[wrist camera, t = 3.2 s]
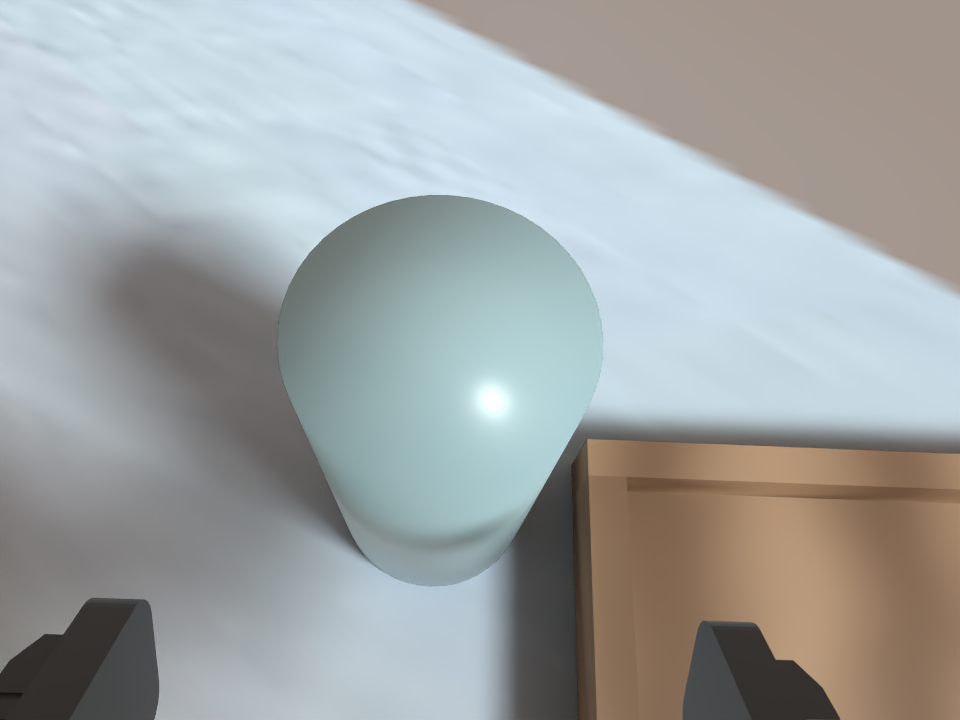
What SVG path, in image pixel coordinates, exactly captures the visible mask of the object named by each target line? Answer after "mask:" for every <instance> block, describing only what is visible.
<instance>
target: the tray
mask: <svg viewBox="0 0 960 720" xmlns="http://www.w3.org/2000/svg"><path fill="white" fill-rule="evenodd" d="M572 503H573V542H574V581H575V620H576V658H577V697H578V720H683V716H682V711H683V699H684V694H685V689H686V684H687V679H688V674H689V669H690V664H691V659H692V654H693V649H694V644H695V639H696V634H697V630H698V627H699V625H700V623H701V622H702V621H732V622H753V623H755V624H756V625H757V626H758V627H759V629H760V630H761V632H762V634H763V636H764V638H765V640H766V642H767V644H768V646H769V648H770V650H771V651H772V653H773V655H774V657H775V659H776V660H794V661H795V662H796V663H797V664H798V665H799V666H800V667H801V668H802V669H803V670H804V671H805V672H806V673H807V674H809V675H810V676H811V677H812V678H813V679H814V680H815V681H816V682H817V683H818V684H819V685H820V686H821V687H823V689H824V691H825V693H826V694H827V696H828V698H829V700H830V701H831V703H832V705H833V707H834V708H835V710H836V712H837V714H838V715H839V717H840V720H960V454H950V453H925V452H901V451H876V450H851V449H826V448H802V447H777V446H752V445H727V444H703V443H678V442H653V441H628V440H604V439H587V440H586V442H585V444H584V445H583V447H582V448H581V450H580V452H579V453H578V455H577V457H576V458H575V460H574V462H573V463H572Z"/></svg>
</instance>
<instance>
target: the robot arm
mask: <svg viewBox="0 0 960 720" xmlns="http://www.w3.org/2000/svg"><path fill="white" fill-rule="evenodd" d="M158 698H159V677H158V668H157V659H156V650H155V641H154V632H153V622H152V613H151V608H150V605H149V603H148V602H147V600H141V599H112V598H91V599H89V600H88V601H87V602H86V603H85V604H84V605H83V607H82V608H81V610H80V611H79V613H78V614H77V615H76V617H75V618H74V620H73V621H72V623H71V624H70V626H69V627H68V629H67V630H66V632H65V633H64V635H54V634H45V635H43V636H42V637H41V638H39V639H38V640H37V641H35V642H34V643H33V644H31V645H30V646H29V647H27V648H26V649H25V650H23V651H22V652H21V653H19V654H18V655H17V656H15V657H14V658H13V659H11V660H10V661H9V662H8V664H7V665H6V666H5V668H4V669H3V671H2V672H1V673H0V720H154V718H155V715H156V710H157V705H158ZM682 716H683V720H840V717H839V715H838V714H837V712H836V710H835V708H834V707H833V705H832V703H831V701H830V700H829V698H828V696H827V694H826V693H825V691H824V689H823V687H821V686H820V685H819V684H818V683H817V682H816V681H815V680H814V679H813V678H812V677H811V676H810V675H809V674H807V673H806V672H805V671H804V670H803V669H802V668H801V667H800V666H799V665H798V664H797V663H796V662H795V661H794V660H776V659H775V657H774V655H773V653H772V651H771V650H770V648H769V646H768V644H767V642H766V640H765V638H764V636H763V634H762V632H761V630H760V629H759V627H758V626H757V625H756V624H755V623H753V622H732V621H702V622H701V623H700V625H699V627H698V630H697V634H696V639H695V644H694V649H693V654H692V659H691V664H690V669H689V674H688V679H687V684H686V689H685V694H684V699H683V711H682Z"/></svg>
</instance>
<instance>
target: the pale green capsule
mask: <svg viewBox="0 0 960 720" xmlns="http://www.w3.org/2000/svg"><path fill="white" fill-rule="evenodd" d="M277 349H278V362H279V367H280V371H281V375H282V380H283V383H284V386H285V388H286V391H287V393H288V396H289V398H290V401H291V403H292V405H293V408H294V410H295V412H296V414H297V416H298V419H299V421H300V423H301V425H302V427H303V430H304V432H305V434H306V436H307V438H308V440H309V443H310V445H311V447H312V449H313V451H314V454H315V456H316V458H317V460H318V462H319V465H320V467H321V469H322V471H323V473H324V476H325V478H326V480H327V482H328V484H329V487H330V489H331V491H332V493H333V495H334V497H335V500H336V502H337V504H338V506H339V508H340V511H341V513H342V515H343V517H344V519H345V522H346V524H347V526H348V528H349V530H350V533H351V535H352V537H353V538H354V540H355V542H356V544H357V546H358V547H359V548H360V550H361V551H362V552H363V554H364V555H365V556H366V557H367V558H368V559H369V560H370V561H371V562H372V563H373V564H374V565H375V566H377V567H378V568H379V569H381V570H382V571H383V572H385V573H387V574H388V575H390V576H392V577H394V578H396V579H399V580H401V581H404V582H407V583H411V584H415V585H421V586H445V585H451V584H456V583H459V582H462V581H466V580H468V579H470V578H472V577H474V576H477V575H478V574H480V573H482V572H483V571H485V570H486V569H488V568H489V567H490V566H491V565H493V564H494V563H495V562H496V561H497V560H498V559H499V558H500V557H501V556H502V555H503V554H504V552H505V551H506V550H507V548H508V547H509V545H510V544H511V542H512V541H513V539H514V537H515V536H516V534H517V532H518V530H519V528H520V527H521V525H522V523H523V521H524V520H525V518H526V516H527V514H528V513H529V511H530V509H531V507H532V506H533V504H534V502H535V500H536V499H537V497H538V495H539V493H540V491H541V490H542V488H543V486H544V484H545V483H546V481H547V479H548V477H549V476H550V474H551V472H552V470H553V469H554V467H555V465H556V463H557V461H558V460H559V458H560V456H561V454H562V453H563V451H564V449H565V447H566V446H567V444H568V442H569V440H570V439H571V437H572V435H573V433H574V432H575V430H576V428H577V426H578V424H579V423H580V421H581V419H582V417H583V416H584V414H585V412H586V410H587V408H588V406H589V404H590V402H591V400H592V398H593V395H594V392H595V389H596V386H597V383H598V380H599V377H600V371H601V366H602V360H603V332H602V323H601V318H600V314H599V310H598V306H597V302H596V300H595V297H594V295H593V292H592V290H591V287H590V285H589V283H588V281H587V279H586V278H585V276H584V274H583V272H582V271H581V269H580V267H579V266H578V265H577V263H576V262H575V261H574V259H573V258H572V257H571V255H570V254H569V253H568V252H567V251H566V250H565V249H564V248H563V247H562V246H561V245H560V244H559V243H558V241H557V240H556V239H554V238H553V237H552V236H551V235H549V234H548V233H547V232H546V231H545V230H543V229H542V228H541V227H539V226H538V225H536V224H535V223H533V222H531V221H530V220H528V219H527V218H525V217H523V216H521V215H519V214H517V213H515V212H513V211H511V210H509V209H507V208H504V207H501V206H498V205H495V204H492V203H490V202H486V201H482V200H477V199H473V198H468V197H460V196H451V195H427V196H417V197H409V198H404V199H400V200H395V201H391V202H388V203H385V204H382V205H379V206H376V207H373V208H371V209H369V210H367V211H364V212H362V213H360V214H358V215H356V216H354V217H353V218H351V219H349V220H348V221H346V222H345V223H343V224H341V225H340V226H338V227H337V228H336V229H335V230H333V231H332V232H331V233H330V234H328V235H327V236H326V237H325V238H324V239H322V241H321V242H320V243H319V244H318V245H317V246H316V247H315V248H314V249H313V250H312V251H311V252H310V253H309V255H308V256H307V257H306V259H305V260H304V261H303V263H302V264H301V266H300V267H299V268H298V270H297V272H296V274H295V276H294V278H293V279H292V281H291V283H290V285H289V287H288V290H287V293H286V295H285V298H284V301H283V304H282V308H281V313H280V317H279V322H278V334H277Z"/></svg>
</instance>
